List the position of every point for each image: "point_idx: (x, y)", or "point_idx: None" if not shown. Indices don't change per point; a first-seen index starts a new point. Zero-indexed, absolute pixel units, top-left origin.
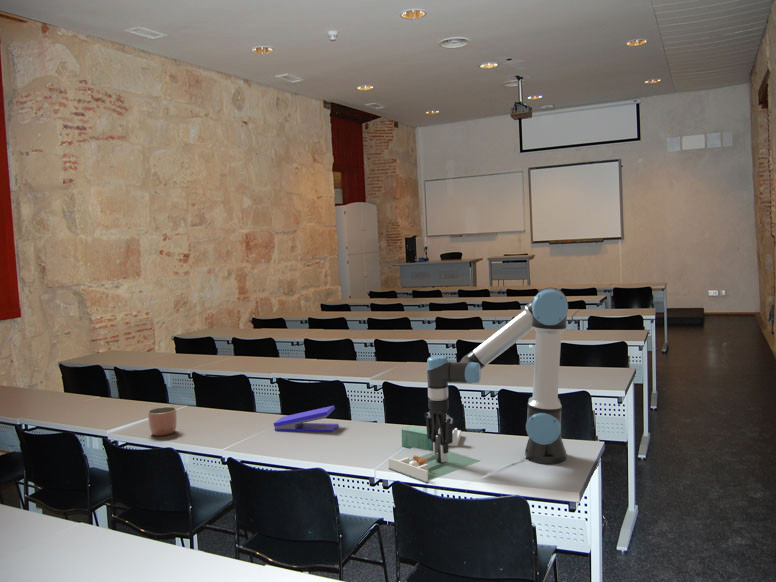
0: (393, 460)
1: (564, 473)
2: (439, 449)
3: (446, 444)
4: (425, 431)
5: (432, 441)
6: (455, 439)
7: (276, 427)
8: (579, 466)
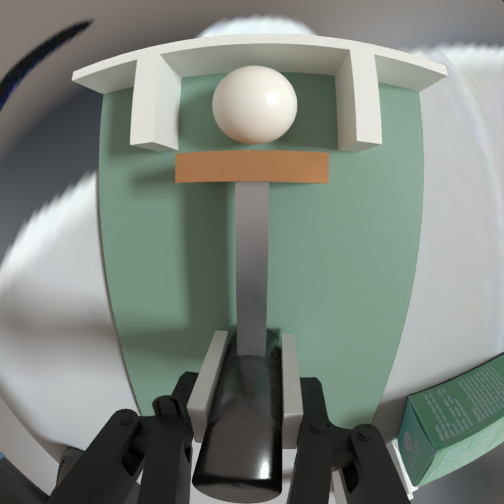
0: (399, 53)
1: (22, 412)
2: (228, 381)
3: (151, 417)
4: (457, 455)
5: (312, 420)
6: (338, 490)
7: None
8: (45, 445)
